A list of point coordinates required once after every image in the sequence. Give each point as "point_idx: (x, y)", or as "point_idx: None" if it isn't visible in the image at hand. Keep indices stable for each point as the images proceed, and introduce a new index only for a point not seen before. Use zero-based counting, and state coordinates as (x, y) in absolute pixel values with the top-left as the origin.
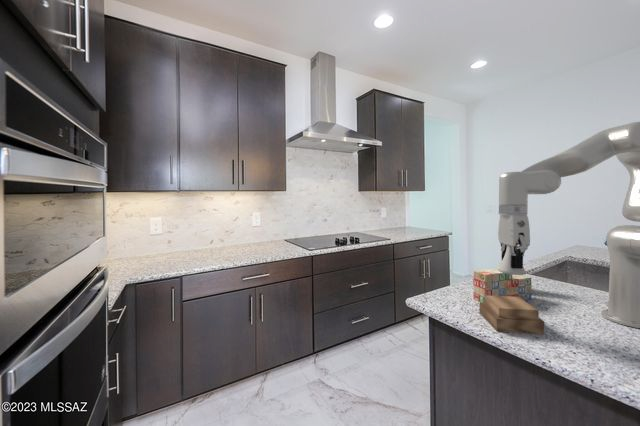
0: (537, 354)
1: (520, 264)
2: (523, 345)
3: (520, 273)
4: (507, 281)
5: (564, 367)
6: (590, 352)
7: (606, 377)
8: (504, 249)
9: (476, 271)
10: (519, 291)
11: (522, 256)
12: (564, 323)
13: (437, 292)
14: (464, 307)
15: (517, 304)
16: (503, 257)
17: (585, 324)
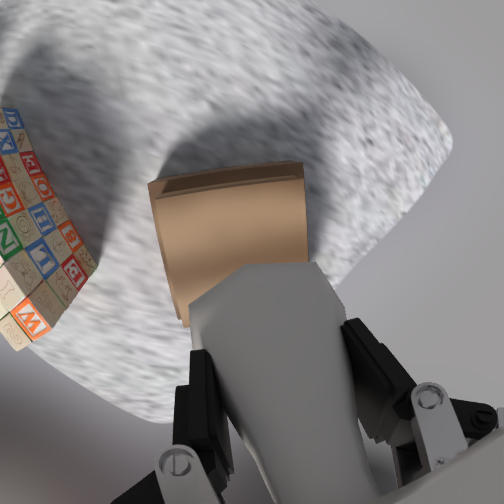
0: (387, 226)
1: (386, 351)
2: (357, 240)
3: (343, 308)
4: (4, 205)
5: (418, 197)
6: (360, 102)
7: (432, 144)
8: (221, 496)
9: (23, 346)
10: (12, 149)
11: (408, 383)
12: (189, 64)
13: (67, 370)
14: (149, 329)
15: (257, 235)
16: (229, 438)
17: (183, 16)
